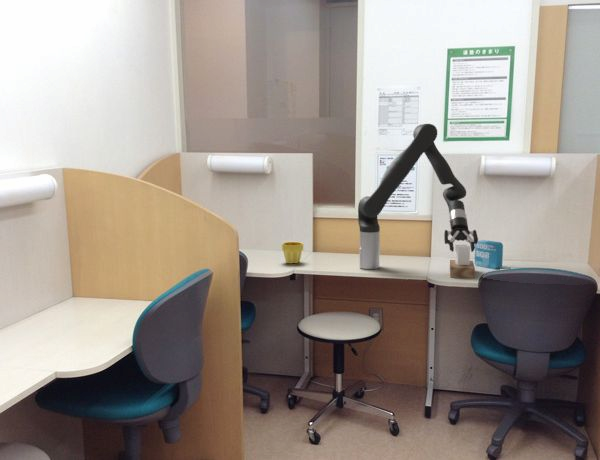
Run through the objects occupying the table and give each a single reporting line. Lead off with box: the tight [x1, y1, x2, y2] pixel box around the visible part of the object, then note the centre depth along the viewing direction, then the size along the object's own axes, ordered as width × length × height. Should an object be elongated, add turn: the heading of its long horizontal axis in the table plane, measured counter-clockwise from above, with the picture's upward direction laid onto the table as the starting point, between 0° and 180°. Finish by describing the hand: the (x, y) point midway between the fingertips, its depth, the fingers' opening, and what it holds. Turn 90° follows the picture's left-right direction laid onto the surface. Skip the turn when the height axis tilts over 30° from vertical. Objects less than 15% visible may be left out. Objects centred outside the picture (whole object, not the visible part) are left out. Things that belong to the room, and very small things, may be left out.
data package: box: [473, 239, 504, 270], centre depth 273 cm, size 12×4×12 cm, turn 40°
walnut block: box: [449, 259, 476, 280], centre depth 260 cm, size 10×16×5 cm, turn 167°
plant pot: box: [281, 241, 304, 264], centre depth 288 cm, size 10×10×10 cm
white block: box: [454, 244, 471, 265], centre depth 259 cm, size 5×6×8 cm
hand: (462, 250), depth 257 cm, fingers open, 8 cm apart
